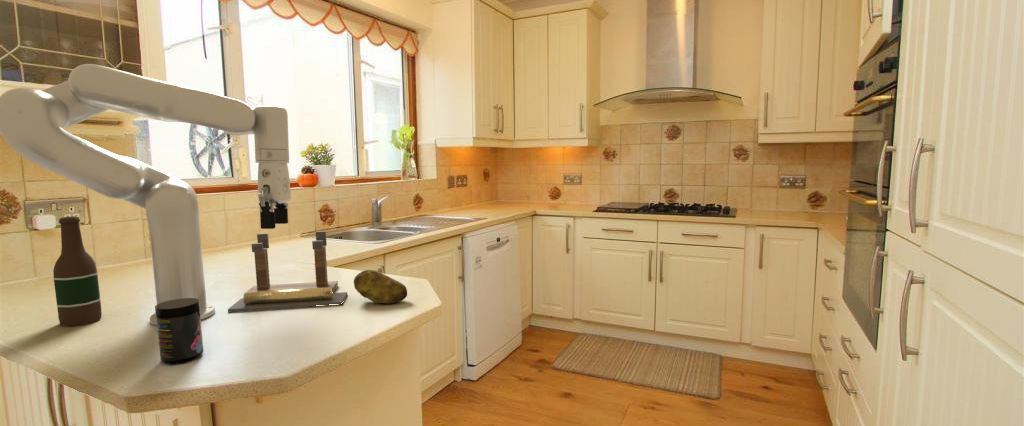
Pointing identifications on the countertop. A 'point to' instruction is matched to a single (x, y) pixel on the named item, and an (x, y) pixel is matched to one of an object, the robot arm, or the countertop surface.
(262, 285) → the hook stand
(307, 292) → the rail
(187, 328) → the supplement container
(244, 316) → the countertop surface
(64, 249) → the beer bottle
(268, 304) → the mat
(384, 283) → the potato
